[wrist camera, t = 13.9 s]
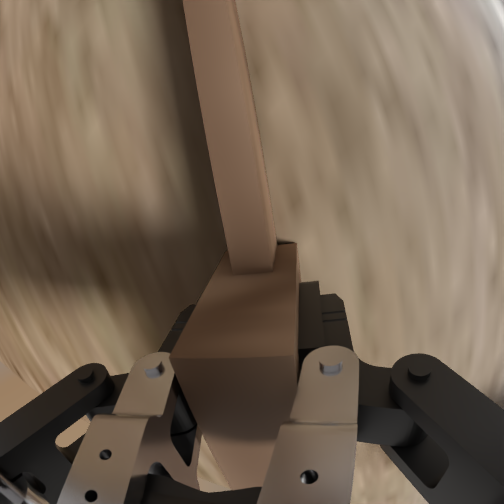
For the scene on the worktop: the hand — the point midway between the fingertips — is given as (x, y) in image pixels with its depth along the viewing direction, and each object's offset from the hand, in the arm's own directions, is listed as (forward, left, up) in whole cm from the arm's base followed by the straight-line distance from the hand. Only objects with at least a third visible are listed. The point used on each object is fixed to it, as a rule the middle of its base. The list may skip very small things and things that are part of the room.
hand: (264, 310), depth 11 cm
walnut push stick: (0, -8, -1) cm, 8 cm away
